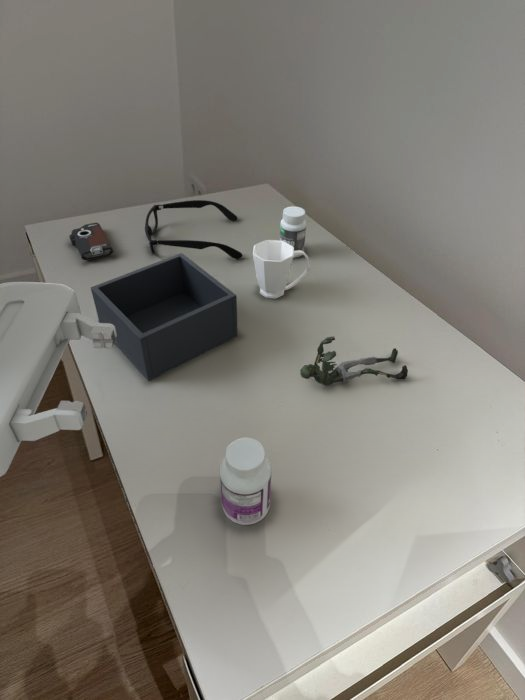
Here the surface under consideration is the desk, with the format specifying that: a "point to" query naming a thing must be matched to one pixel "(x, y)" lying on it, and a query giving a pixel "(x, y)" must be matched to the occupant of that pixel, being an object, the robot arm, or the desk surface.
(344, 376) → the zombie figurine
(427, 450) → the desk surface
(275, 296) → the cup
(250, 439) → the pill bottle
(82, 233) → the camera
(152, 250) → the glasses
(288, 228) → the pill bottle
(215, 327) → the bin
